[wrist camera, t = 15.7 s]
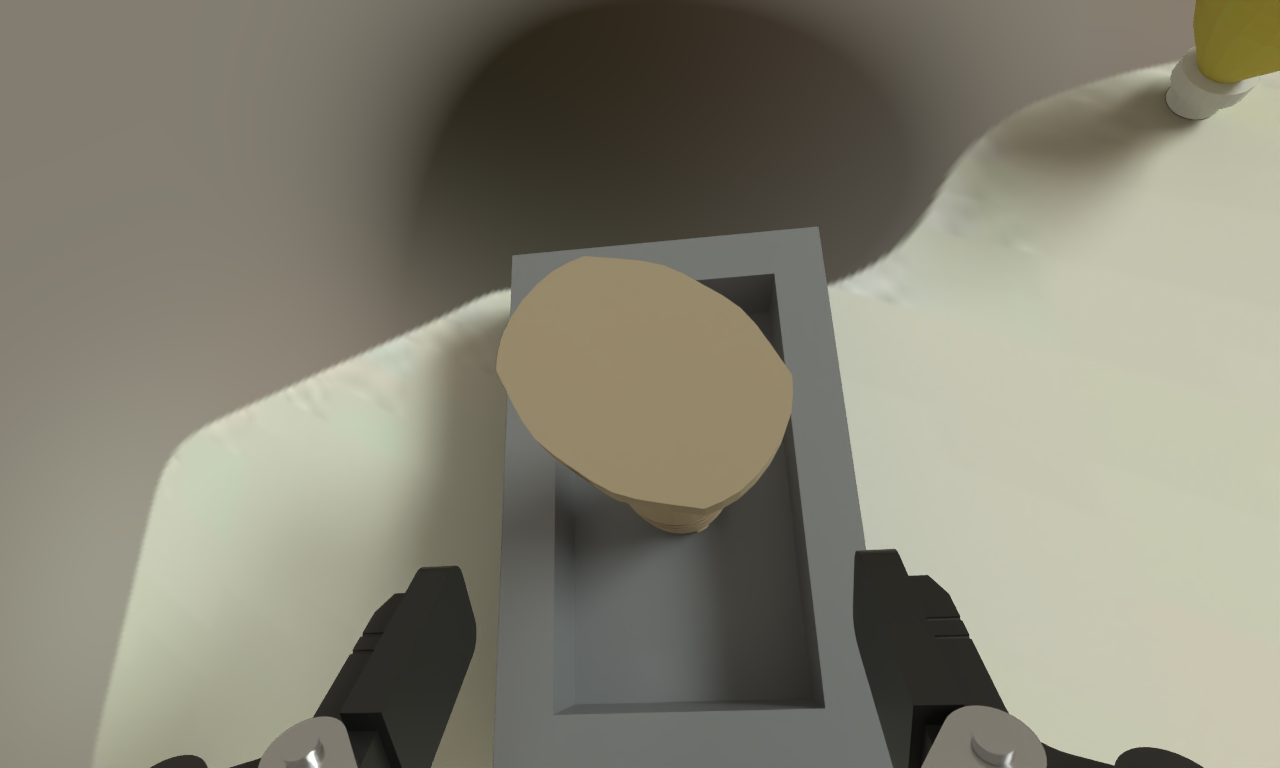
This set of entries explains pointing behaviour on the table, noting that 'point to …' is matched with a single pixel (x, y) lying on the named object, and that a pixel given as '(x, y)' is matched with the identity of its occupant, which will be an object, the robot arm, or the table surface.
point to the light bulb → (1225, 55)
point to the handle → (647, 387)
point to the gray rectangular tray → (693, 570)
